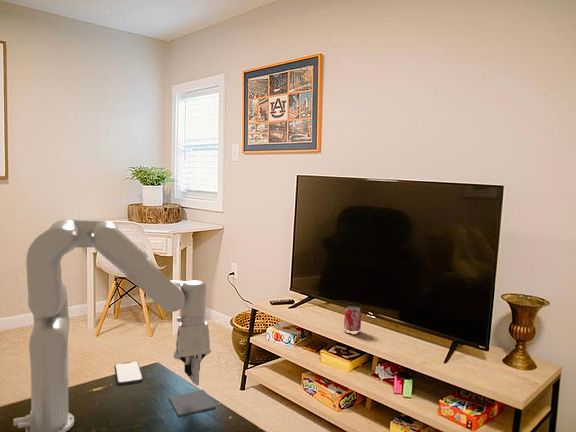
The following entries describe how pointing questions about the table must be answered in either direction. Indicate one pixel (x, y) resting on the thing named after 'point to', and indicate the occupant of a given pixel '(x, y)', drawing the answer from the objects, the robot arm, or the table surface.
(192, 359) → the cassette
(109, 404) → the table surface
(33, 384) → the robot arm
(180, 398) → the pad
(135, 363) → the phone case
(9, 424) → the table surface
